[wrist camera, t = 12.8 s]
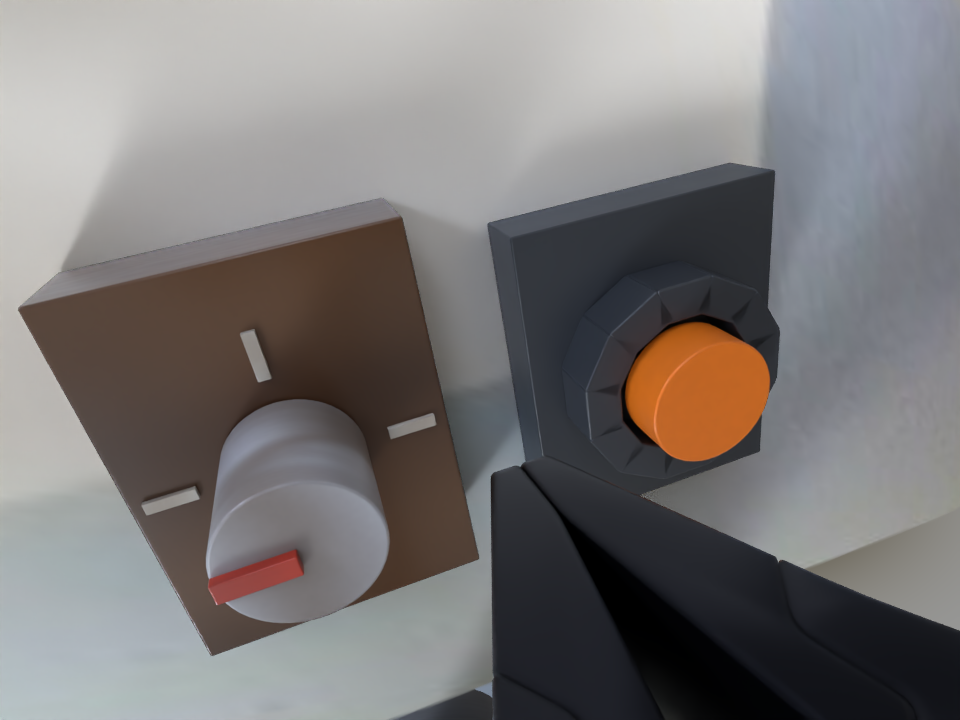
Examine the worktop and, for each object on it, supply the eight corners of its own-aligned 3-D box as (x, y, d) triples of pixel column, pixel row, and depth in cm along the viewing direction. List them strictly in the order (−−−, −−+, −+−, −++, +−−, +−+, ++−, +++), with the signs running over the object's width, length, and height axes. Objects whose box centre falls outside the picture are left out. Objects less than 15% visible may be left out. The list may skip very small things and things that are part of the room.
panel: (456, 507, 23) (481, 563, 21) (218, 588, 22) (210, 661, 19) (383, 196, 18) (403, 216, 15) (57, 272, 16) (13, 310, 13)
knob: (346, 380, 17) (368, 465, 13) (382, 492, 18) (409, 596, 15) (196, 424, 16) (173, 528, 12) (249, 537, 18) (242, 658, 14)
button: (731, 413, 21) (767, 439, 19) (627, 449, 20) (656, 479, 18) (734, 306, 19) (774, 325, 17) (620, 341, 18) (651, 364, 17)
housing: (724, 425, 26) (794, 477, 22) (530, 492, 24) (573, 560, 21) (730, 162, 21) (820, 177, 18) (486, 223, 19) (533, 253, 16)
